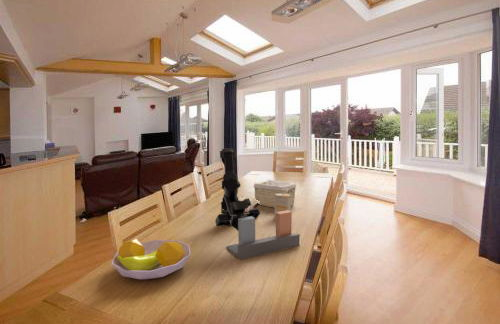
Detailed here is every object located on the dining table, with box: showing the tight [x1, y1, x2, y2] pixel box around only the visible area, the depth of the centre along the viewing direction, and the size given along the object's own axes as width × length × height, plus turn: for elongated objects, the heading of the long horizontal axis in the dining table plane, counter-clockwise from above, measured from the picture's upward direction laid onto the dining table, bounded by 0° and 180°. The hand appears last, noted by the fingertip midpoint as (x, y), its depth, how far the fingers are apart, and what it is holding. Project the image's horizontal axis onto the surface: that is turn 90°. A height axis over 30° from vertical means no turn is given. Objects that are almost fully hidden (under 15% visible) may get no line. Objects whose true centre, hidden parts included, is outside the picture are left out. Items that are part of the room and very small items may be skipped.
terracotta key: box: [275, 210, 292, 237], centre depth 125 cm, size 3×6×13 cm, turn 118°
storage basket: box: [253, 179, 297, 209], centre depth 192 cm, size 24×16×15 cm
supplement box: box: [274, 193, 292, 218], centre depth 164 cm, size 8×5×13 cm, turn 58°
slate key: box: [237, 216, 256, 245], centre depth 117 cm, size 3×6×13 cm, turn 118°
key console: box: [225, 232, 301, 261], centre depth 124 cm, size 13×28×5 cm, turn 118°
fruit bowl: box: [111, 238, 192, 280], centre depth 104 cm, size 28×27×11 cm
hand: (244, 235), depth 119 cm, fingers closed
